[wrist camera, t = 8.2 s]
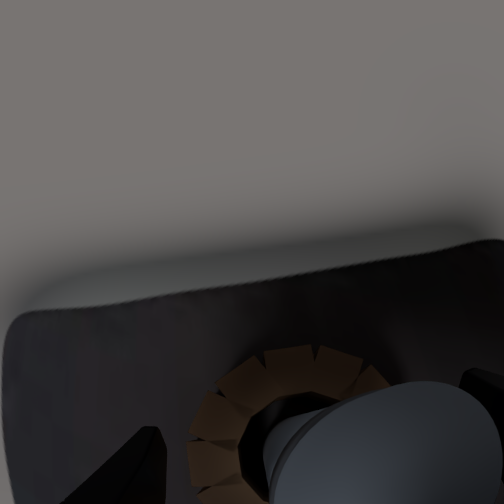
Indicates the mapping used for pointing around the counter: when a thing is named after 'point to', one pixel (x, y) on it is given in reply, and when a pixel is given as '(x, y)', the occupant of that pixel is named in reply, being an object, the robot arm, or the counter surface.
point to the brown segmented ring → (254, 401)
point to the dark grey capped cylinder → (387, 450)
